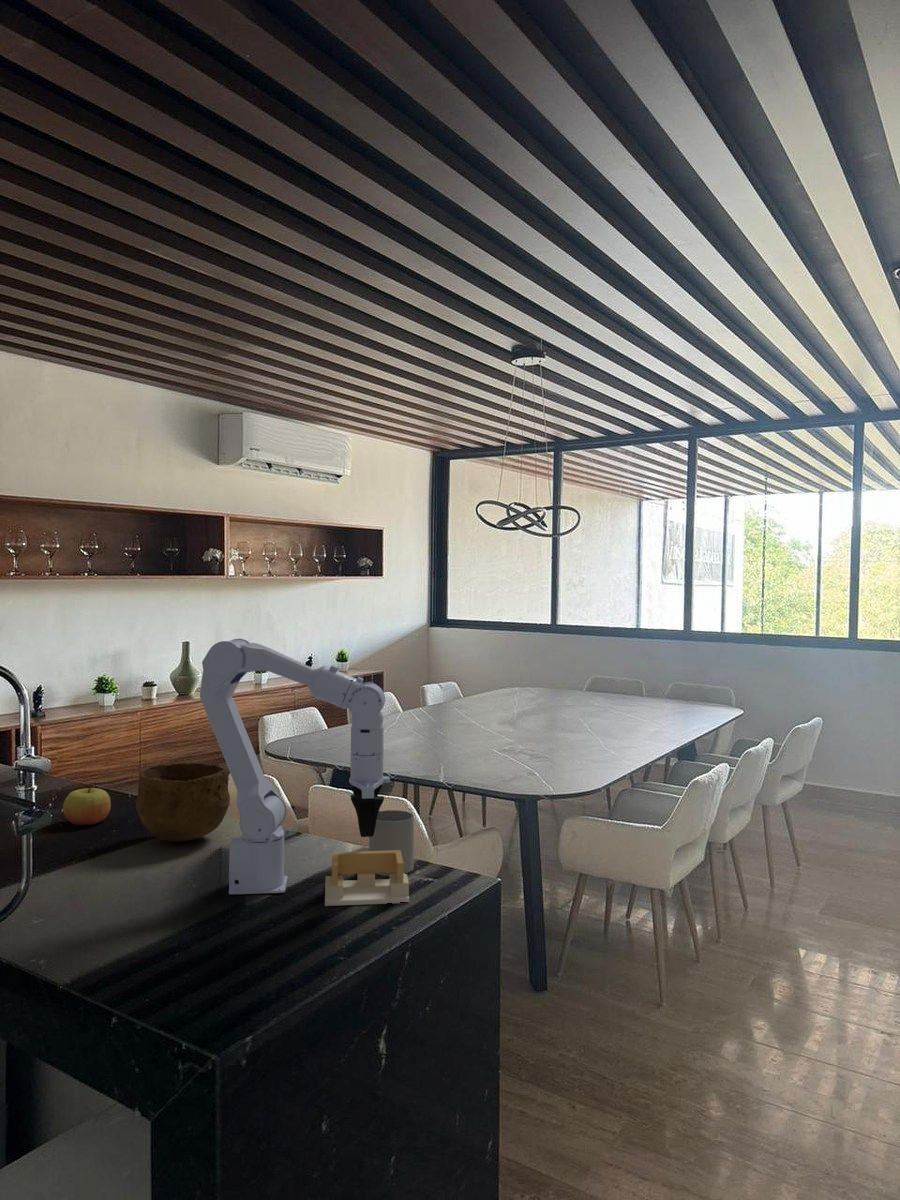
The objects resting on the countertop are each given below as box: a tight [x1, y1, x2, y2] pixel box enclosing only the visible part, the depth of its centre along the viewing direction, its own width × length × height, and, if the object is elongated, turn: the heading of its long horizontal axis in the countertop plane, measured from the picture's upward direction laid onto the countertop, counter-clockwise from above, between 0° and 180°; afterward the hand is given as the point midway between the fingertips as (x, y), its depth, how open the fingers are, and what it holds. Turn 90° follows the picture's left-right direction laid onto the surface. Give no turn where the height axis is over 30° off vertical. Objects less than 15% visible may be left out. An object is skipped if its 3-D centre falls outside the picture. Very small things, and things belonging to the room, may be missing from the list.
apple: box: [62, 787, 112, 826], centre depth 194 cm, size 10×10×8 cm
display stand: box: [324, 873, 410, 907], centre depth 149 cm, size 10×14×3 cm
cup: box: [368, 809, 415, 877], centre depth 163 cm, size 8×8×10 cm
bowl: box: [135, 761, 231, 843], centre depth 181 cm, size 19×19×15 cm
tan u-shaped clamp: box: [331, 850, 404, 886], centre depth 149 cm, size 7×12×3 cm, turn 97°
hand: (366, 830), depth 151 cm, fingers open, 7 cm apart
